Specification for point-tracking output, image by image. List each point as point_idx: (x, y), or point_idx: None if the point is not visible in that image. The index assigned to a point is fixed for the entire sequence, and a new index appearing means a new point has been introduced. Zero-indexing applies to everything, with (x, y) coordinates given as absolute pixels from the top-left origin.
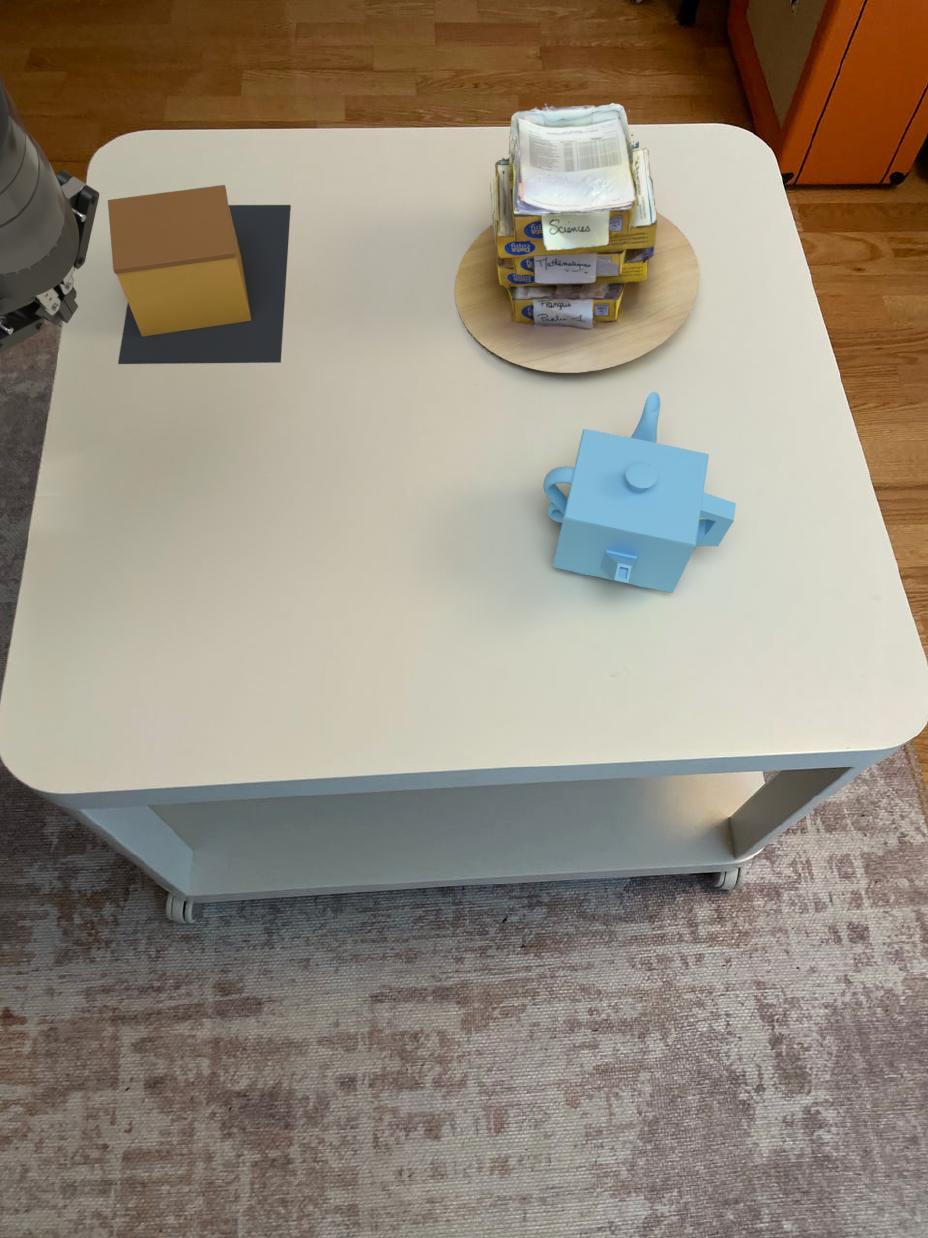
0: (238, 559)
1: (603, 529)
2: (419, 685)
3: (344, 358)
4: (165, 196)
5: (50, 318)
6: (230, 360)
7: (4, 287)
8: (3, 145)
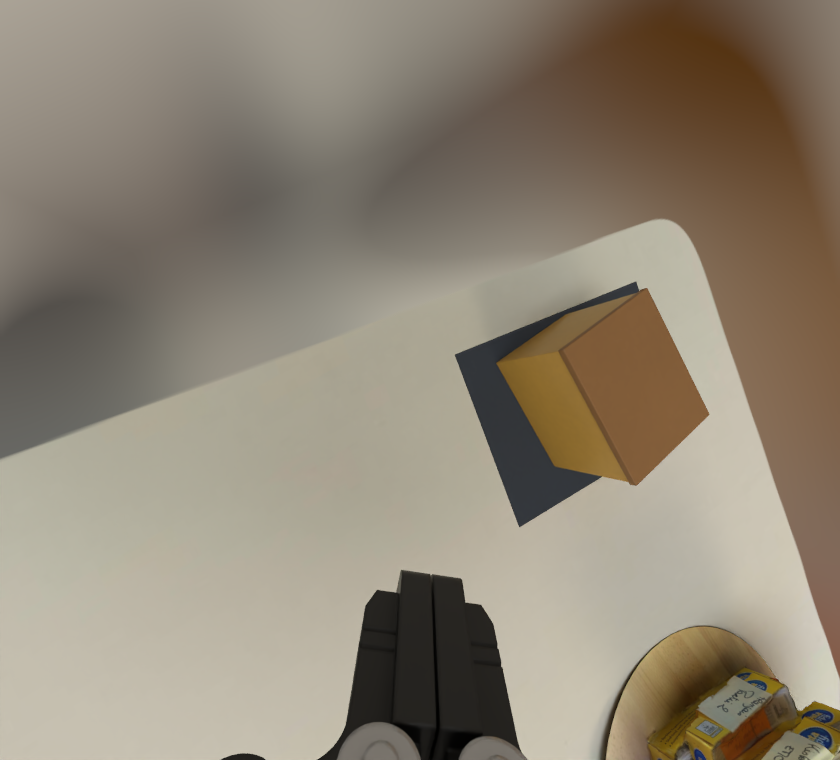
0: (248, 649)
1: None
2: None
3: (547, 589)
4: (673, 354)
5: (346, 721)
6: (502, 473)
7: None
8: None
